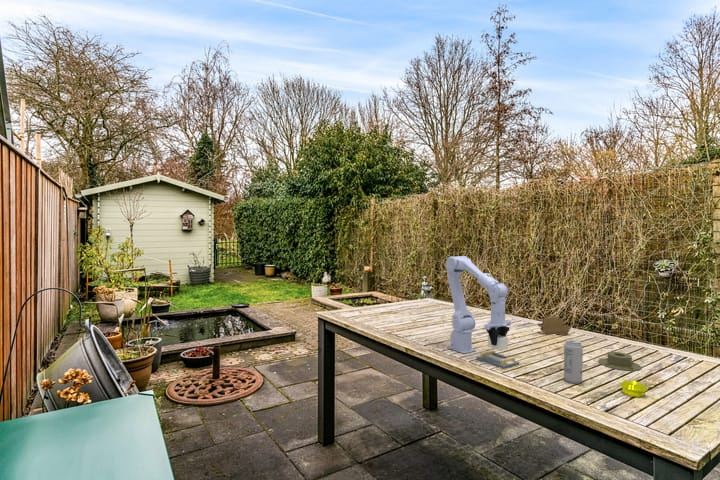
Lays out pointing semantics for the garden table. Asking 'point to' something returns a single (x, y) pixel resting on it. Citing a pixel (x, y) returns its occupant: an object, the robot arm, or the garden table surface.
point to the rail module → (499, 343)
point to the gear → (633, 388)
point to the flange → (620, 362)
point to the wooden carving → (554, 325)
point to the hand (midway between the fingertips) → (497, 344)
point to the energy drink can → (573, 361)
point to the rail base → (497, 359)
